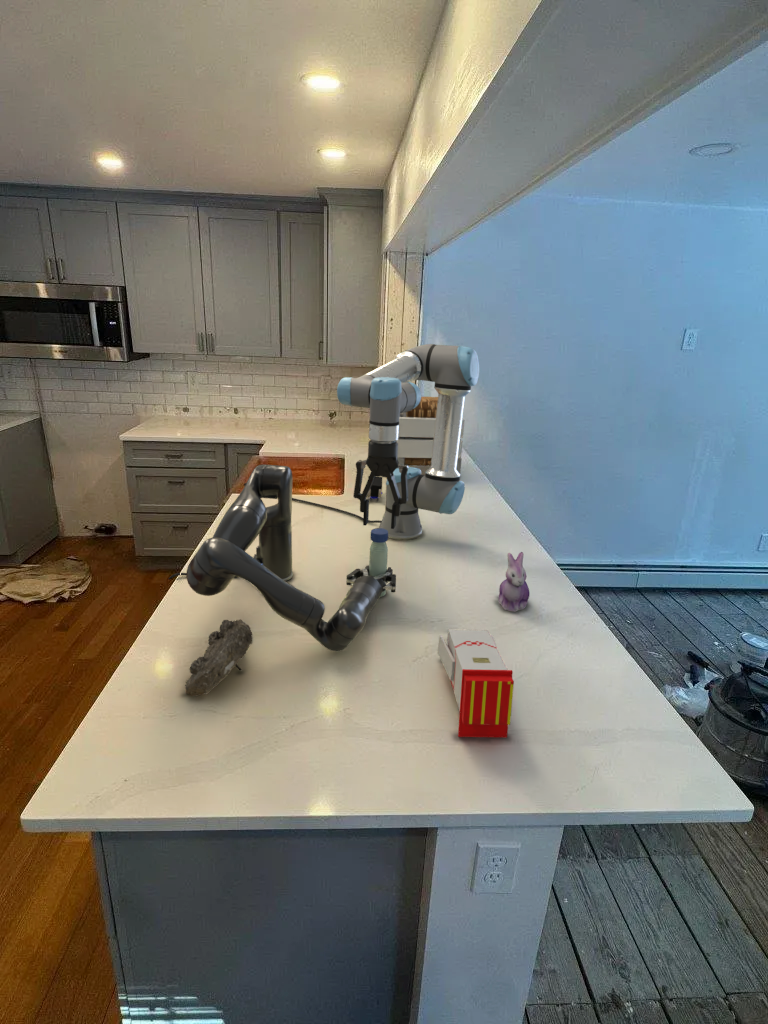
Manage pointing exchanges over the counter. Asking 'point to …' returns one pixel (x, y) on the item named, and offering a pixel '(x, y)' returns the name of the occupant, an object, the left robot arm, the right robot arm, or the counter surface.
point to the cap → (379, 535)
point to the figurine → (514, 585)
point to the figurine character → (375, 489)
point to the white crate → (420, 434)
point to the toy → (478, 682)
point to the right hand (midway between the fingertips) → (379, 525)
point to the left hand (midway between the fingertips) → (380, 568)
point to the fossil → (219, 656)
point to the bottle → (378, 560)
